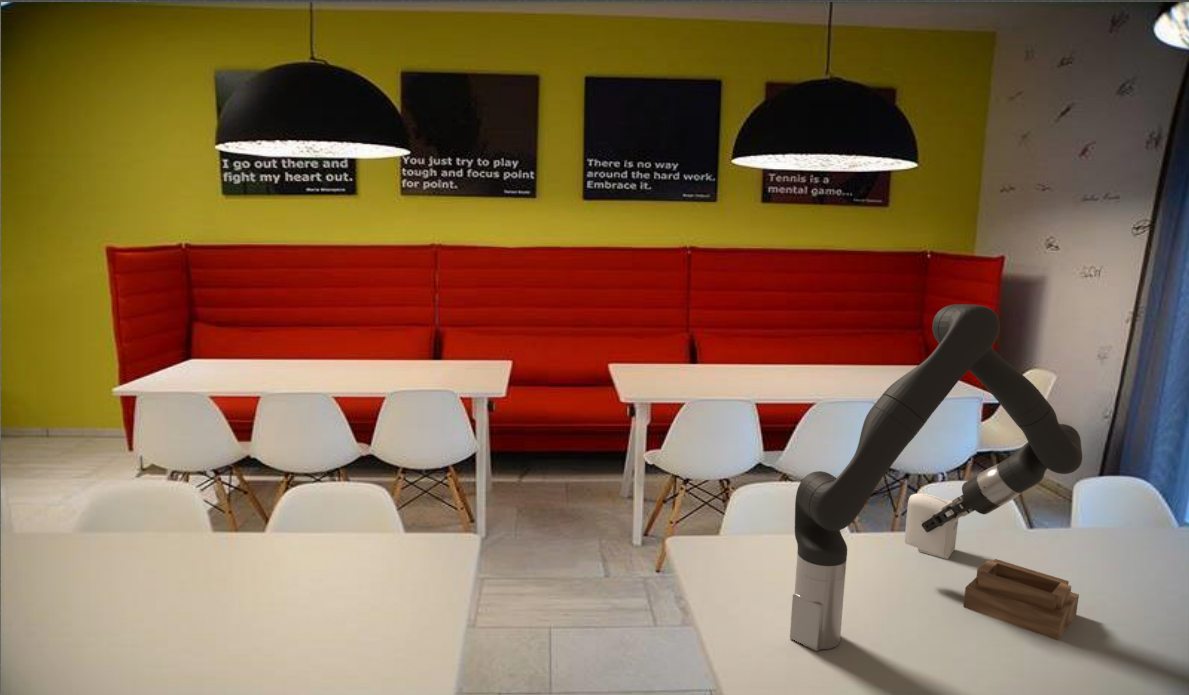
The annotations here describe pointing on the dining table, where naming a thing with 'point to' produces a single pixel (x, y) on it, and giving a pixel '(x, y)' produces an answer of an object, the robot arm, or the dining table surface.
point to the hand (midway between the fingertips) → (929, 525)
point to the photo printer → (921, 511)
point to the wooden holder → (1022, 598)
